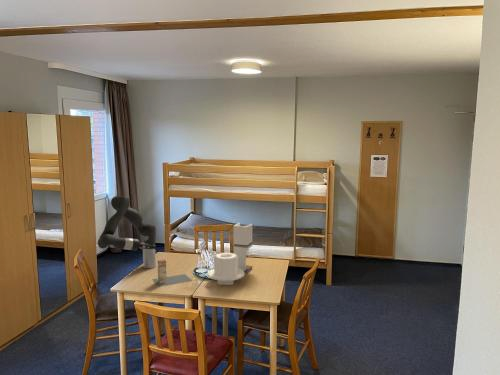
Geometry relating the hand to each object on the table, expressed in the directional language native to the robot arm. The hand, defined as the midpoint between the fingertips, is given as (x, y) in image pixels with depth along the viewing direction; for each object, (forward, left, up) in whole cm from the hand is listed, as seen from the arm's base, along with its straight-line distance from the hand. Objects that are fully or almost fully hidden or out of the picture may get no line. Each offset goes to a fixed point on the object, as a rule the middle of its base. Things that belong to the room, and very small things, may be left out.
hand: (153, 246), depth 267 cm
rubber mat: (+1, +13, -26) cm, 29 cm away
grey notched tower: (+4, +67, -26) cm, 72 cm away
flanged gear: (+21, +45, -26) cm, 56 cm away
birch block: (+1, +6, -25) cm, 26 cm away
